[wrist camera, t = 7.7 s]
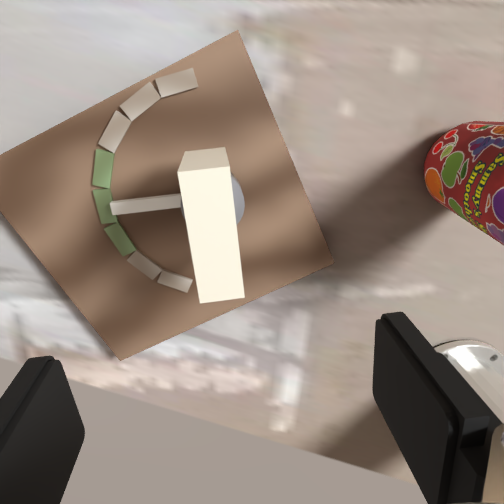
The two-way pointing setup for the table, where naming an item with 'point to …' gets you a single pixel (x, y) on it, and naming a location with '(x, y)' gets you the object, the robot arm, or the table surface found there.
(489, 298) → the table surface
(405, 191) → the table surface
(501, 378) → the robot arm
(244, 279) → the tuner board
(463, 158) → the smoothie
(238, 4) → the table surface
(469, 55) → the table surface
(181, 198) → the pointer knob
